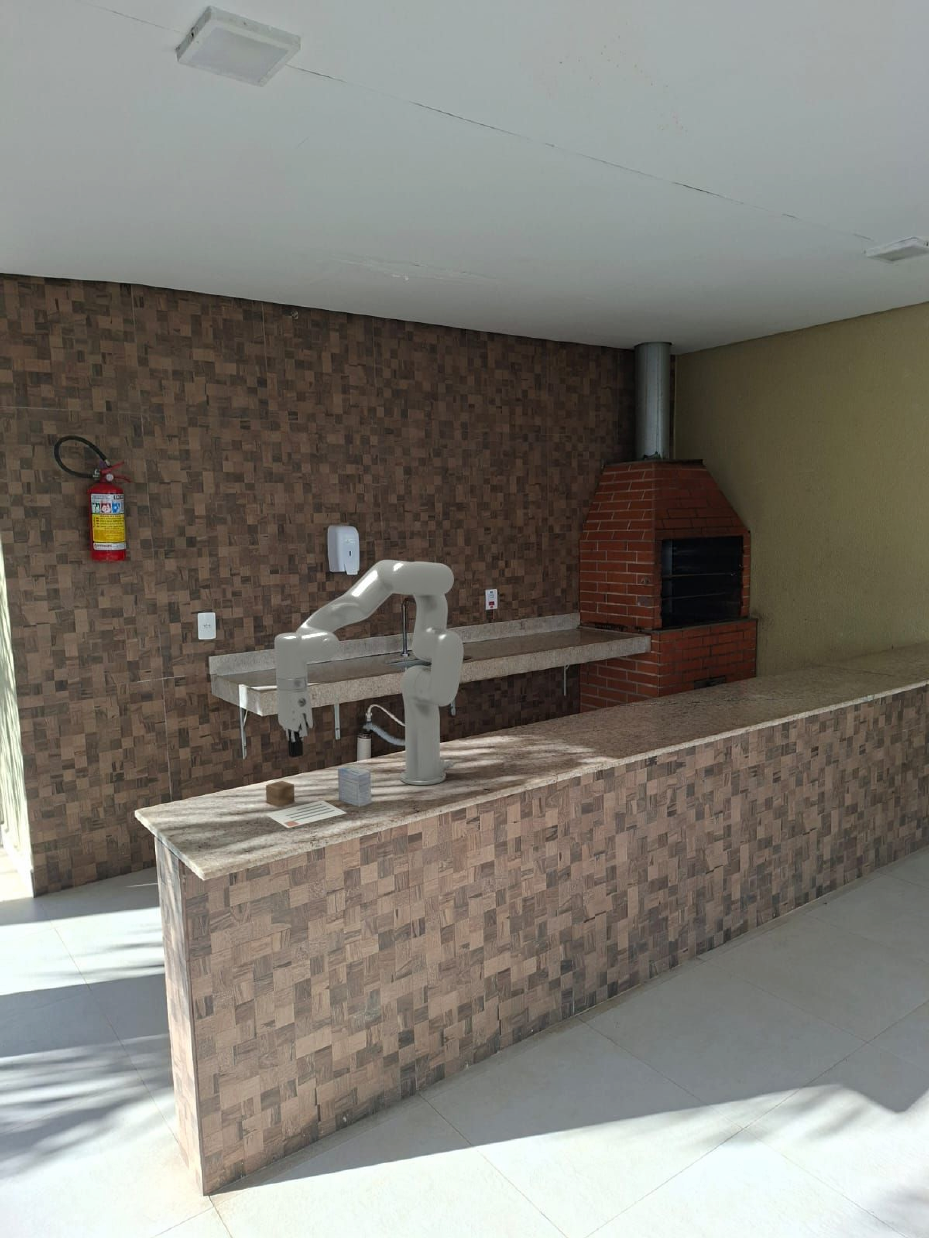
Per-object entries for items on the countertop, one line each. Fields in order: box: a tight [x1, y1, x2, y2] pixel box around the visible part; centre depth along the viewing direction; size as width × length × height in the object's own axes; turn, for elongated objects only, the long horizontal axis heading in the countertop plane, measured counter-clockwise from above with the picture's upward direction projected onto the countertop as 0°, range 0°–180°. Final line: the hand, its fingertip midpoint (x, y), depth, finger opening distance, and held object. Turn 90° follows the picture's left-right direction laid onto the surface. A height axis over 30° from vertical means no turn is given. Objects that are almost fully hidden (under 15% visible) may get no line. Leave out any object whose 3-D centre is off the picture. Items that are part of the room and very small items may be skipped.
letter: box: [264, 799, 347, 829], centre depth 214 cm, size 16×12×1 cm
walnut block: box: [265, 780, 296, 808], centre depth 222 cm, size 5×5×5 cm
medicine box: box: [337, 765, 372, 808], centre depth 222 cm, size 8×4×9 cm, turn 48°
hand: (295, 755), depth 217 cm, fingers closed
